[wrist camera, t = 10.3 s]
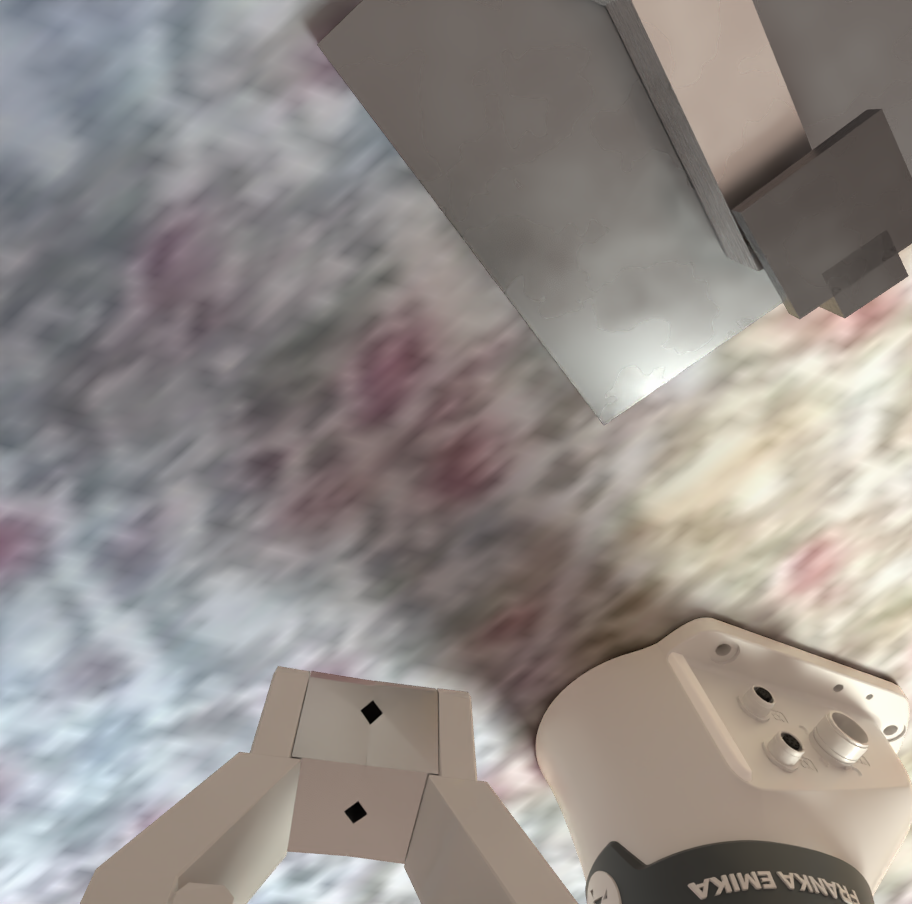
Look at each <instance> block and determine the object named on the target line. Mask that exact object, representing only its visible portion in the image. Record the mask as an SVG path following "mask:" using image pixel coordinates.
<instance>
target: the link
mask: <svg viewBox="0 0 912 904" xmlns="http://www.w3.org/2000/svg"><path fill="white" fill-rule="evenodd" d="M592 1H594V2H596V3H598V4H600V5H603V6H606V8H607V10H608V12H609V14H610V16H611V18H612V20H613V22H614V24H615V26H616V28H617V30H618V32H619V34H620V36H621V38H622V40H623V43H624V45H625V47H626V49H627V51H628V53H629V55H630V57H631V59H632V61H633V63H634V65H635V67H636V69H637V71H638V73H639V75H640V78H641V80H642V82H643V84H644V86H645V88H646V90H647V92H648V94H649V96H650V98H651V100H652V102H653V104H654V106H655V108H656V110H657V113H658V115H659V117H660V119H661V121H662V123H663V125H664V127H665V129H666V131H667V133H668V135H669V137H670V139H671V141H672V143H673V145H674V148H675V150H676V152H677V154H678V156H679V158H680V160H681V162H682V164H683V166H684V168H685V170H686V172H687V174H688V176H689V178H690V180H691V183H692V185H693V187H694V189H695V191H696V193H697V195H698V197H699V199H700V201H701V203H702V205H703V207H704V209H705V211H706V213H707V215H708V218H709V220H710V222H711V224H712V226H713V228H714V230H715V232H716V234H717V236H718V238H719V240H720V242H721V244H722V246H723V248H724V250H725V253H726V255H727V257H728V258H729V259H731V260H733V261H736V262H738V263H740V264H742V265H745V266H747V267H749V268H752V269H754V270H756V271H760V270H762V269H764V268H763V266H762V265H761V263H760V261H759V259H758V257H757V256H756V254H755V252H754V250H753V249H752V247H751V245H750V243H749V241H748V240H747V238H746V236H745V234H744V233H743V231H742V229H741V227H740V225H739V224H738V222H737V220H736V218H735V217H734V215H733V213H732V211H731V210H732V209H733V208H735V207H736V206H737V205H739V204H740V203H741V202H743V201H744V200H745V199H747V198H748V197H749V196H751V195H752V194H754V193H755V192H756V191H758V190H759V189H760V188H762V187H763V186H764V185H766V184H767V183H768V182H770V181H771V180H772V179H774V178H775V177H776V176H778V175H779V174H781V173H782V172H783V171H785V170H786V169H787V168H789V167H790V166H791V165H793V164H794V163H795V162H797V161H798V160H799V159H801V158H802V157H803V156H805V155H806V154H807V153H809V152H810V151H812V149H811V146H810V144H809V141H808V139H807V136H806V134H805V131H804V129H803V126H802V124H801V121H800V119H799V116H798V114H797V111H796V109H795V106H794V104H793V101H792V99H791V96H790V94H789V91H788V89H787V86H786V84H785V81H784V79H783V76H782V74H781V71H780V69H779V66H778V64H777V61H776V59H775V56H774V54H773V51H772V49H771V46H770V44H769V41H768V39H767V36H766V34H765V31H764V29H763V26H762V24H761V21H760V19H759V16H758V14H757V11H756V9H755V6H754V4H753V1H752V0H592Z"/></svg>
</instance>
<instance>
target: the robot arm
mask: <svg viewBox="0 0 912 904" xmlns="http://www.w3.org/2000/svg"><path fill="white" fill-rule="evenodd" d="M722 644H723V645H722ZM719 645H721V646H719ZM718 646H719V647H718ZM908 723H909V701H908V699H907V697H906V695H905V694H904V692H903V691H902V689H901V688H900V687H899V686H898V685H896V684H894V683H892V682H889V681H886V680H884V679H881V678H878V677H875V676H873V675H870V674H867V673H864V672H861V671H859V670H856V669H853V668H850V667H847V666H845V665H842V664H839V663H836V662H833V661H831V660H828V659H825V658H822V657H820V656H817V655H814V654H811V653H808V652H806V651H803V650H800V649H797V648H794V647H792V646H789V645H786V644H783V643H780V642H778V641H775V640H772V639H769V638H767V637H764V636H761V635H758V634H755V633H753V632H750V631H747V630H744V629H741V628H739V627H736V626H733V625H730V624H727V623H725V622H722V621H719V620H716V619H713V618H706V617H705V618H698V619H695V620H692V621H690V622H688V623H686V624H684V625H683V626H681V627H679V628H678V629H676V630H675V631H673V632H672V633H670V634H669V635H668V636H666V637H665V638H663V639H662V640H661V641H659V642H658V643H656V644H654V645H652V646H650V647H647V648H644V649H641V650H638V651H635V652H632V653H629V654H625V655H622V656H619V657H617V658H614V659H611V660H609V661H607V662H604V663H602V664H600V665H598V666H596V667H594V668H593V669H591V670H589V671H587V672H586V673H584V674H583V675H581V676H580V677H578V678H577V679H576V680H574V681H573V682H572V683H571V684H569V685H568V686H567V687H566V688H565V689H564V690H563V691H562V692H561V693H560V694H559V695H558V696H557V697H556V698H555V699H554V701H553V702H552V703H551V705H550V706H549V708H548V709H547V711H546V712H545V714H544V716H543V718H542V720H541V723H540V725H539V728H538V732H537V736H536V757H537V762H538V765H539V768H540V770H541V772H542V774H543V776H544V777H545V779H546V781H547V783H548V784H549V786H550V788H551V790H552V792H553V794H554V796H555V798H556V800H557V802H558V805H559V807H560V809H561V811H562V814H563V816H564V819H565V821H566V824H567V827H568V829H569V832H570V834H571V837H572V840H573V843H574V846H575V849H576V852H577V854H578V857H579V860H580V863H581V866H582V870H583V873H584V877H585V880H586V890H585V892H586V900H587V904H874V901H873V895H874V893H875V892H876V890H877V888H878V886H879V885H880V883H881V881H882V879H883V877H884V876H885V874H886V872H887V870H888V868H889V867H890V865H891V863H892V861H893V859H894V858H895V856H896V854H897V852H898V851H899V849H900V847H901V846H902V844H903V842H904V840H905V838H906V836H907V834H908V832H909V829H910V826H911V823H912V783H911V780H910V778H909V775H908V773H907V771H906V769H905V767H904V766H903V764H902V762H901V760H900V759H899V757H898V756H897V753H898V751H899V749H900V747H901V745H902V743H903V740H904V738H905V735H906V731H907V728H908ZM287 851H288V852H301V853H315V854H328V855H341V856H351V857H358V858H365V859H373V860H380V861H388V862H395V863H402V864H405V865H404V868H405V870H406V872H407V874H408V876H409V878H410V881H411V883H412V885H413V887H414V889H415V891H416V893H417V895H418V898H419V900H420V902H421V904H578V903H577V901H576V900H575V899H574V897H573V896H572V895H571V893H570V892H569V891H568V889H567V888H566V887H565V885H564V884H563V883H562V881H561V880H560V879H559V877H558V876H557V875H556V873H555V872H554V871H553V869H552V868H551V867H550V865H549V864H548V863H547V861H546V860H545V859H544V857H543V856H542V855H541V853H540V852H539V851H538V849H537V848H536V847H535V845H534V844H533V843H532V841H531V840H530V839H529V837H528V836H527V835H526V833H525V832H524V831H523V829H522V828H521V827H520V825H519V824H518V823H517V821H516V820H515V819H514V817H513V816H512V815H511V813H510V812H509V811H508V809H507V808H506V807H505V805H504V804H503V803H502V801H501V800H500V799H499V797H498V796H497V795H496V793H495V792H494V791H493V789H492V788H491V787H490V785H489V784H488V783H487V782H484V781H477V771H476V758H475V744H474V731H473V718H472V705H471V696H470V695H469V693H468V692H463V691H455V690H447V689H438V688H437V690H436V689H435V688H428V687H420V686H412V685H404V684H397V683H389V682H381V681H371V680H365V679H359V678H353V677H346V676H340V675H334V674H328V673H322V672H315V671H311V672H310V671H304V670H298V669H292V668H286V667H280V666H278V667H277V669H276V671H275V672H274V675H273V678H272V681H271V685H270V688H269V691H268V694H267V698H266V701H265V704H264V708H263V711H262V714H261V717H260V721H259V724H258V727H257V731H256V734H255V737H254V741H253V744H252V747H251V750H250V753H245V752H239V753H238V754H236V755H235V756H234V757H233V758H231V759H230V760H229V761H228V762H227V763H225V764H224V765H223V766H222V767H220V768H219V769H218V770H217V771H216V772H214V773H213V774H212V775H211V776H209V777H208V778H207V779H206V780H205V781H203V782H202V783H201V784H200V785H198V786H197V787H196V788H195V789H194V790H192V791H191V792H190V793H189V794H187V795H186V796H185V797H184V798H183V799H181V800H180V801H179V802H178V803H176V804H175V805H174V806H173V807H171V808H170V809H169V810H168V811H167V812H165V813H164V814H163V815H162V816H160V817H159V818H158V819H157V820H156V821H154V822H153V823H152V824H151V825H149V826H148V827H147V828H146V829H145V830H143V831H142V832H141V833H140V834H138V835H137V836H136V837H135V838H134V839H132V840H131V841H130V842H129V843H127V844H126V845H125V846H124V847H123V848H121V849H120V850H119V851H118V852H116V853H115V854H114V855H113V856H112V857H110V858H109V859H108V860H107V861H105V862H104V863H103V864H102V865H101V866H99V867H98V868H97V869H96V870H95V873H94V875H93V877H92V879H91V881H90V883H89V885H88V887H87V889H86V892H85V894H84V896H83V898H82V900H81V902H80V904H247V903H248V901H249V900H250V899H251V898H252V896H253V895H254V894H255V893H256V892H257V890H258V889H259V888H260V887H261V886H262V884H263V883H264V882H265V881H266V879H267V878H268V877H269V876H270V875H271V873H272V872H273V871H274V870H275V869H276V867H277V866H278V865H279V864H280V863H281V861H282V860H283V859H284V858H285V856H286V854H287Z"/></svg>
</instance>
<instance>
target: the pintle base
mask: <svg viewBox="0 0 912 904" xmlns="http://www.w3.org/2000/svg"><path fill="white" fill-rule="evenodd" d="M752 1H753V4H754V6H755V9H756V11H757V14H758V16H759V19H760V21H761V24H762V26H763V29H764V31H765V34H766V36H767V39H768V41H769V44H770V46H771V49H772V51H773V54H774V56H775V59H776V61H777V64H778V66H779V69H780V71H781V74H782V76H783V79H784V81H785V84H786V86H787V89H788V91H789V94H790V96H791V99H792V101H793V104H794V106H795V109H796V111H797V114H798V116H799V119H800V121H801V124H802V126H803V129H804V131H805V134H806V136H807V139H808V141H809V144H810V146H811V149H812V151H810V152H809V153H807V154H806V155H805V156H803V157H802V158H801V159H799V160H798V161H797V162H795V163H794V164H793V165H791V166H790V167H789V168H787V169H786V170H785V171H783V172H782V173H781V174H779V175H778V176H776V177H775V178H774V179H772V180H771V181H770V182H768V183H767V184H766V185H764V186H763V187H762V188H760V189H759V190H758V191H756V192H755V193H754V194H752V195H751V196H749V197H748V198H747V199H745V200H744V201H743V202H741V203H740V204H739V205H737V206H736V207H735V208H733V209H732V210H731V211H732V213H733V215H734V217H735V218H736V220H737V222H738V224H739V225H740V227H741V229H742V231H743V233H744V234H745V236H746V238H747V240H748V241H749V243H750V245H751V247H752V249H753V250H754V252H755V254H756V256H757V257H758V259H759V261H760V263H761V265H762V266H763V268H764V269H762V270H760V271H756V270H754V269H752V268H749V267H747V266H745V265H742V264H740V263H738V262H736V261H733V260H731V259H729V258H728V257H727V255H726V253H725V250H724V248H723V246H722V244H721V242H720V240H719V238H718V236H717V234H716V232H715V230H714V228H713V226H712V224H711V222H710V220H709V218H708V215H707V213H706V211H705V209H704V207H703V205H702V203H701V201H700V199H699V197H698V195H697V193H696V191H695V189H694V187H693V185H692V183H691V180H690V178H689V176H688V174H687V172H686V170H685V168H684V166H683V164H682V162H681V160H680V158H679V156H678V154H677V152H676V150H675V148H674V145H673V143H672V141H671V139H670V137H669V135H668V133H667V131H666V129H665V127H664V125H663V123H662V121H661V119H660V117H659V115H658V113H657V110H656V108H655V106H654V104H653V102H652V100H651V98H650V96H649V94H648V92H647V90H646V88H645V86H644V84H643V82H642V80H641V78H640V75H639V73H638V71H637V69H636V67H635V65H634V63H633V61H632V59H631V57H630V55H629V53H628V51H627V49H626V47H625V45H624V43H623V40H622V38H621V36H620V34H619V32H618V30H617V28H616V26H615V24H614V22H613V20H612V18H611V16H610V14H609V12H608V10H607V8H606V6H603V5H600V4H598V3H596V2H594V1H592V0H362V1H361V2H360V3H359V4H358V5H357V6H356V7H355V8H354V9H353V10H352V11H351V12H350V13H349V14H348V15H347V16H346V17H345V18H344V19H343V20H342V21H341V22H340V23H339V24H338V25H337V26H336V27H335V28H334V29H333V30H332V31H331V32H330V33H329V34H327V35H326V36H325V37H324V38H323V39H322V40H321V41H320V42H319V43H318V44H317V45H318V47H319V48H320V49H321V51H322V52H323V53H324V55H325V56H326V57H327V59H328V60H329V61H330V63H331V64H332V65H333V67H334V68H335V69H336V71H337V72H338V73H339V75H340V76H341V77H342V79H343V80H344V81H345V82H346V84H347V85H348V86H349V88H350V89H351V90H352V92H353V93H354V94H355V96H356V97H357V98H358V100H359V101H360V102H361V104H362V105H363V106H364V108H365V109H366V110H367V112H368V113H369V114H370V116H371V117H372V118H373V120H374V121H375V122H376V124H377V125H378V126H379V128H380V129H381V130H382V132H383V133H384V134H385V136H386V137H387V138H388V140H389V141H390V142H391V144H392V145H393V146H394V148H395V149H396V150H397V152H398V153H399V154H400V156H401V157H402V158H403V160H404V161H405V162H406V163H407V165H408V166H409V167H410V169H411V170H412V171H413V173H414V174H415V175H416V177H417V178H418V179H419V181H420V182H421V183H422V185H423V186H424V187H425V189H426V190H427V191H428V193H429V194H430V195H431V197H432V198H433V199H434V201H435V202H436V203H437V205H438V206H439V207H440V209H441V210H442V211H443V213H444V214H445V215H446V217H447V218H448V219H449V221H450V222H451V223H452V225H453V226H454V227H455V229H456V230H457V231H458V233H459V234H460V235H461V237H462V238H463V239H464V240H465V242H466V243H467V244H468V246H469V247H470V248H471V250H472V251H473V252H474V254H475V255H476V256H477V258H478V259H479V260H480V262H481V263H482V264H483V266H484V267H485V268H486V270H487V271H488V272H489V274H490V275H491V276H492V278H493V279H494V280H495V282H496V283H497V284H498V286H499V287H500V288H501V290H502V291H503V292H504V294H505V295H506V296H507V298H508V299H509V300H510V302H511V303H512V304H513V306H514V307H515V308H516V310H517V311H518V312H519V314H520V315H521V316H522V318H523V319H524V320H525V321H526V323H527V324H528V325H529V327H530V328H531V329H532V331H533V332H534V333H535V335H536V336H537V337H538V339H539V340H540V341H541V343H542V344H543V345H544V347H545V348H546V349H547V351H548V352H549V353H550V355H551V356H552V357H553V359H554V360H555V361H556V363H557V364H558V365H559V367H560V368H561V369H562V371H563V372H564V373H565V375H566V376H567V377H568V379H569V380H570V381H571V383H572V384H573V385H574V387H575V388H576V389H577V391H578V392H579V393H580V395H581V396H582V397H583V398H584V400H585V401H586V402H587V404H588V405H589V406H590V408H591V409H592V410H593V412H594V413H595V414H596V416H597V417H598V418H599V420H600V421H601V422H602V424H603V425H605V424H607V423H608V422H610V421H611V420H613V419H614V418H616V417H617V416H618V415H620V414H621V413H623V412H624V411H626V410H627V409H629V408H630V407H632V406H633V405H634V404H636V403H637V402H639V401H640V400H642V399H643V398H645V397H646V396H647V395H649V394H650V393H652V392H653V391H655V390H656V389H658V388H659V387H661V386H662V385H663V384H665V383H666V382H668V381H669V380H671V379H672V378H674V377H675V376H677V375H678V374H679V373H681V372H682V371H684V370H685V369H687V368H688V367H690V366H691V365H693V364H694V363H695V362H697V361H698V360H700V359H701V358H703V357H704V356H706V355H707V354H709V353H710V352H711V351H713V350H714V349H716V348H717V347H719V346H720V345H722V344H723V343H724V342H726V341H727V340H729V339H730V338H732V337H733V336H735V335H736V334H738V333H739V332H740V331H742V330H743V329H745V328H746V327H748V326H749V325H751V324H752V323H754V322H755V321H756V320H758V319H759V318H761V317H762V316H764V315H765V314H767V313H768V312H770V311H771V310H772V309H774V308H775V307H777V306H778V305H780V304H781V303H783V304H784V305H785V307H786V309H787V311H788V312H789V314H791V315H793V316H795V317H797V318H799V319H801V318H802V317H804V316H805V315H807V314H808V313H810V312H811V311H813V310H814V309H816V308H817V307H821V308H823V309H826V310H828V311H830V312H832V313H834V314H837V315H839V316H841V317H843V318H846V317H848V316H849V315H851V314H852V313H854V312H855V311H857V310H858V309H860V308H861V307H863V306H864V305H866V304H867V303H869V302H870V301H872V300H873V299H875V298H876V297H878V296H879V295H881V294H882V293H884V292H885V291H887V290H888V289H890V288H891V287H893V286H894V285H896V284H897V283H899V282H900V281H902V280H903V279H905V278H906V277H908V274H907V272H906V270H905V267H904V265H903V263H902V261H901V259H900V257H899V255H898V253H899V252H900V251H901V250H903V249H904V248H906V247H907V246H909V245H910V244H912V0H752Z"/></svg>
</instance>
